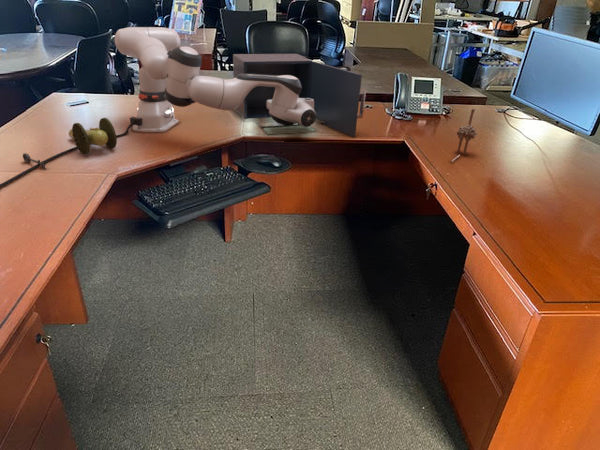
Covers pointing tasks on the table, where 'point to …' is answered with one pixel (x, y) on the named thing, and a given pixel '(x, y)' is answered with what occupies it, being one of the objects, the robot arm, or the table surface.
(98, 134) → the cannon
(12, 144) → the table surface
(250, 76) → the robot arm
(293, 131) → the desk mat
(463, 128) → the ostrich figurine
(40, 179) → the table surface
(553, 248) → the table surface
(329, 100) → the cupboard door
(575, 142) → the table surface
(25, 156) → the key
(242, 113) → the cupboard
